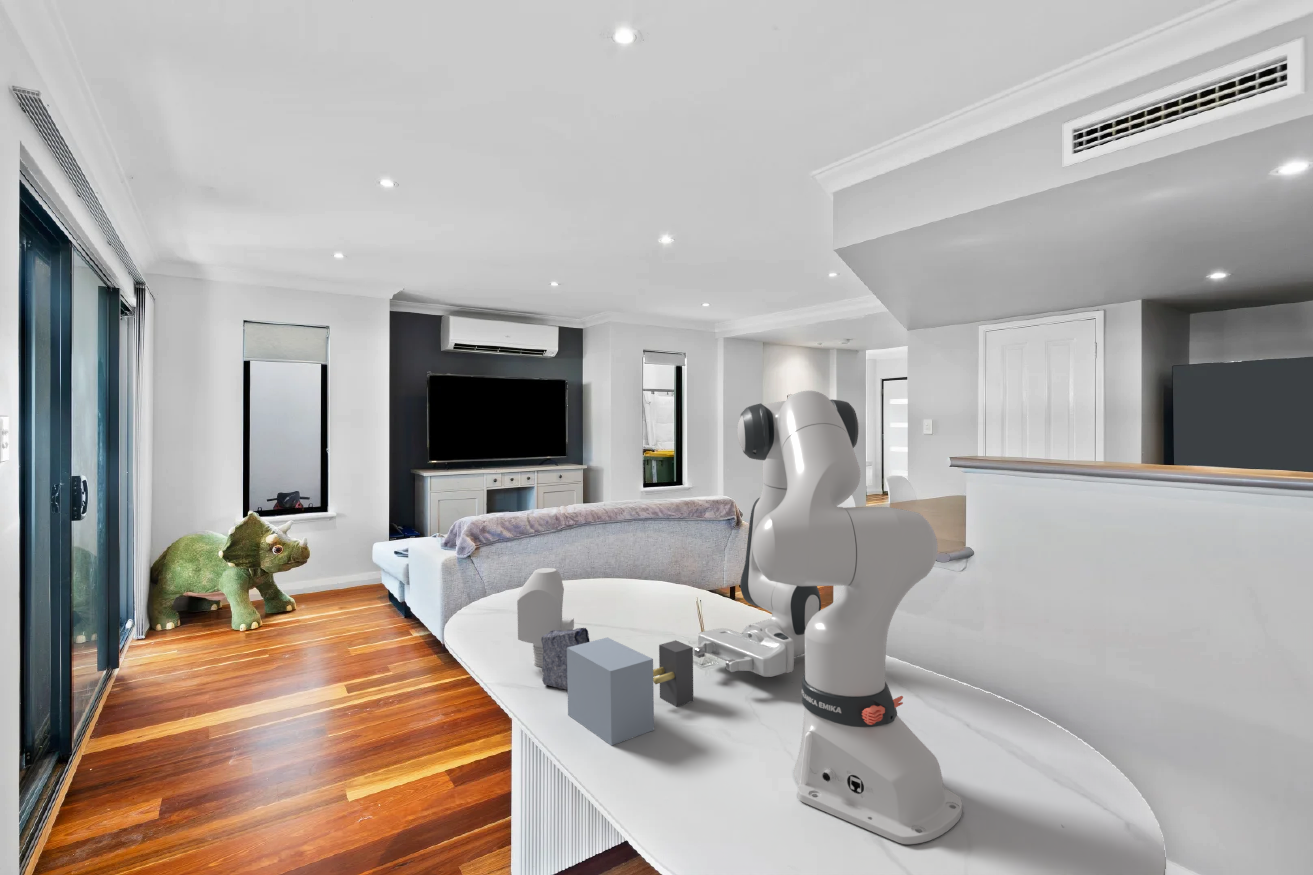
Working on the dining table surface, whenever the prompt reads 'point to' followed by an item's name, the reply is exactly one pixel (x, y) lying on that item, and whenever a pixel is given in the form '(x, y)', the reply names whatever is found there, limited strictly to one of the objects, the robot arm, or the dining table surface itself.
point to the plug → (675, 673)
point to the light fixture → (541, 609)
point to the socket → (610, 689)
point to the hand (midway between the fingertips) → (711, 659)
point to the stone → (559, 654)
